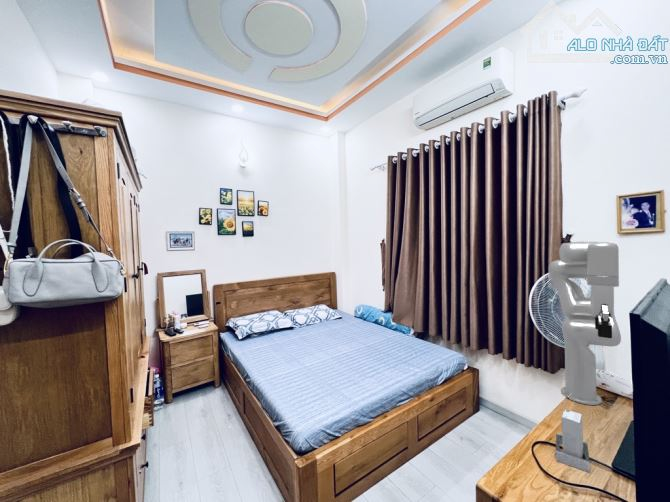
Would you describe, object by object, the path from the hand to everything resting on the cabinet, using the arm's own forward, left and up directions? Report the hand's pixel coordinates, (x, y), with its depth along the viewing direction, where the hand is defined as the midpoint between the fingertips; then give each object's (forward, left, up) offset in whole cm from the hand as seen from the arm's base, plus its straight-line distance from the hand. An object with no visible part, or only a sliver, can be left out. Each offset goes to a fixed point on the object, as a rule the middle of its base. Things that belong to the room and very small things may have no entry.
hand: (603, 333), depth 93 cm
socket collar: (+18, -8, -33) cm, 39 cm away
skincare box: (+18, -8, -34) cm, 39 cm away
